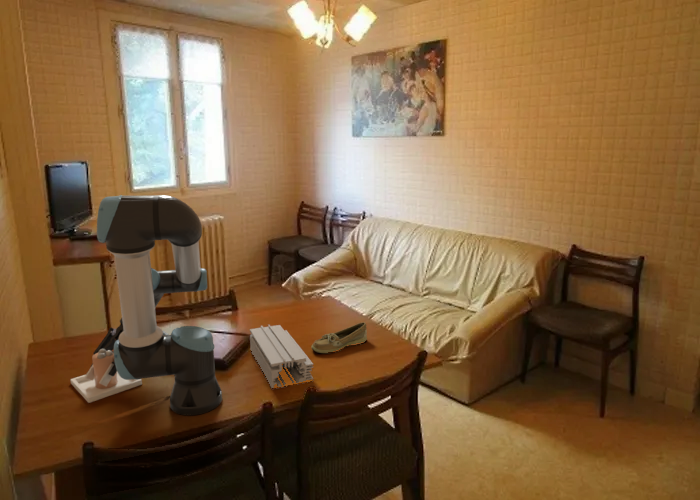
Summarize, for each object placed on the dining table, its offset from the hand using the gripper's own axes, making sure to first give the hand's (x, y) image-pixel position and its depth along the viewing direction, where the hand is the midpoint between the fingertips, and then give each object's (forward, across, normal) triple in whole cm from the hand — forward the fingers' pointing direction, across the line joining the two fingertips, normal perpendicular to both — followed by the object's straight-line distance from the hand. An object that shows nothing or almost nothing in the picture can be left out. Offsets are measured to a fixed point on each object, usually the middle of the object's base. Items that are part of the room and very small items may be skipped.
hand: (95, 381), depth 151 cm
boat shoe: (-47, -48, -52) cm, 85 cm away
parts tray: (0, 0, -5) cm, 5 cm away
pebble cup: (-1, 0, -4) cm, 4 cm away
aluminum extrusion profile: (-29, -38, -34) cm, 59 cm away
